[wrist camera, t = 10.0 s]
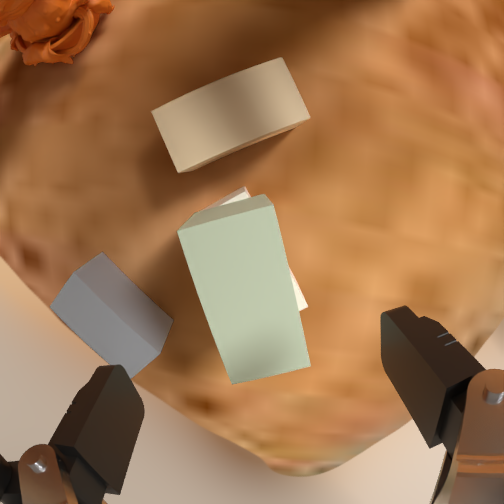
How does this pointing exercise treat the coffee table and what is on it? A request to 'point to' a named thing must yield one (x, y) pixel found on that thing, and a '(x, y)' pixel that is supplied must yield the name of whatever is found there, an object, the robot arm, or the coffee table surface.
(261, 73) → the oak brick
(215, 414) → the coffee table surface
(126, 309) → the slate brick
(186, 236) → the sage brick
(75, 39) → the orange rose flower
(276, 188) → the coffee table surface
